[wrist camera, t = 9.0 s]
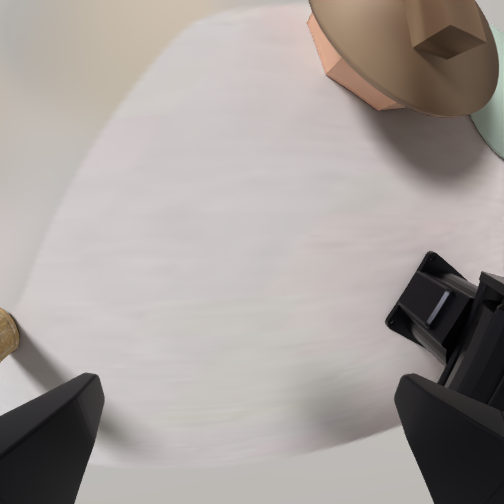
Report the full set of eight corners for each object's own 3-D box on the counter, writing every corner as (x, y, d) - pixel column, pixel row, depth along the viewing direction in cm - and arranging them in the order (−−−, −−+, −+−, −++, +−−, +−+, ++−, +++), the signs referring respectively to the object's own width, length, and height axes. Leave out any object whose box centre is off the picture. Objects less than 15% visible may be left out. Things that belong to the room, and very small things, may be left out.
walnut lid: (467, -20, 10) (499, -40, 6) (502, 137, 13) (550, 135, 9) (298, -76, 10) (311, -118, 5) (313, 96, 13) (344, 66, 8)
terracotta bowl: (449, 47, 16) (487, 29, 11) (409, 136, 18) (453, 129, 13) (347, -28, 15) (369, -63, 10) (285, 51, 16) (301, 15, 11)
